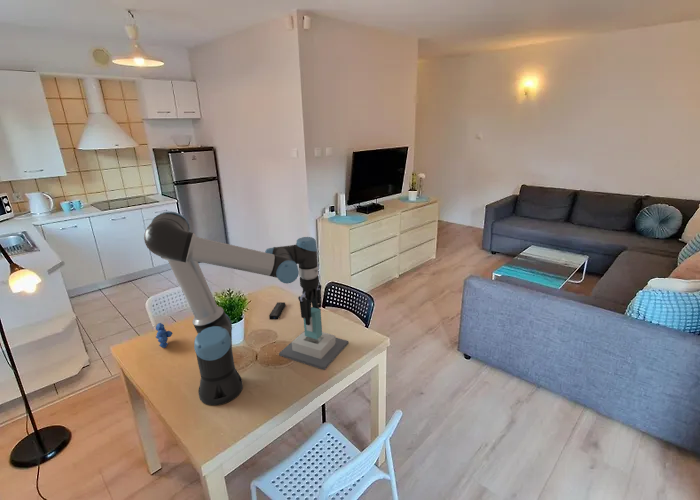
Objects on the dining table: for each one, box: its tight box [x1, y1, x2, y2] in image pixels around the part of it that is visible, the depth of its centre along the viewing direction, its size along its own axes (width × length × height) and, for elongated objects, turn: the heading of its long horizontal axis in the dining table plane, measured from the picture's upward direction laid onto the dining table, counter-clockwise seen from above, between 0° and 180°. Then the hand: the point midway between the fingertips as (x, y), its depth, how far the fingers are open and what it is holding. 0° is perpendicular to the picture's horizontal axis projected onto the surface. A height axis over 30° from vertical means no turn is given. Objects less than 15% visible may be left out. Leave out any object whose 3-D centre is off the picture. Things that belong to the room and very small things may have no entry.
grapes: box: [155, 322, 173, 349], centre depth 160 cm, size 12×7×12 cm, turn 28°
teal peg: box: [302, 306, 323, 339], centre depth 152 cm, size 4×6×12 cm, turn 62°
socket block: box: [278, 330, 349, 371], centre depth 156 cm, size 20×22×5 cm
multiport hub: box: [268, 301, 286, 321], centre depth 188 cm, size 4×14×2 cm, turn 174°
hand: (312, 327), depth 153 cm, fingers closed on teal peg, 4 cm apart
